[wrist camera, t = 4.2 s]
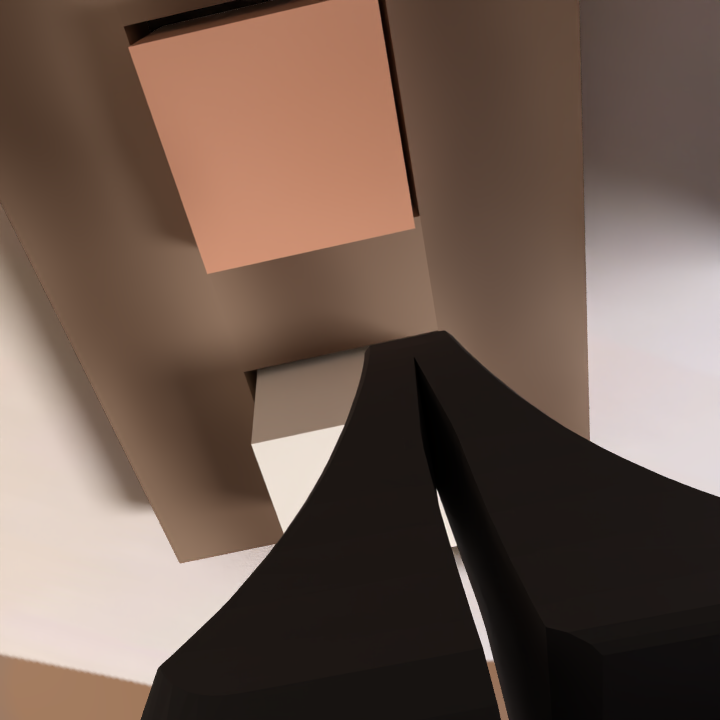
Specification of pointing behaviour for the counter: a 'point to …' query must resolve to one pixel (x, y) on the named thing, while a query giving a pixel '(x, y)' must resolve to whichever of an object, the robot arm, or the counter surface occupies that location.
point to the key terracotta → (278, 127)
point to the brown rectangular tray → (306, 270)
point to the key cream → (304, 424)
